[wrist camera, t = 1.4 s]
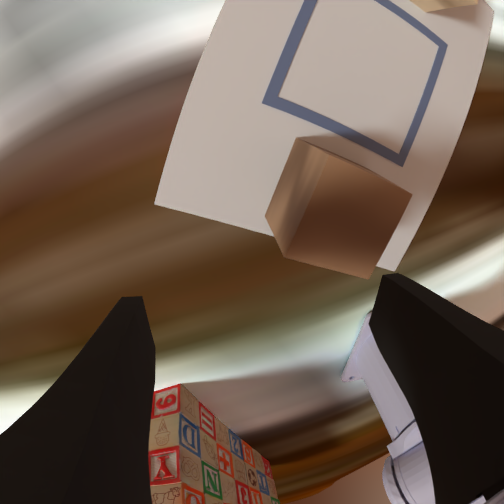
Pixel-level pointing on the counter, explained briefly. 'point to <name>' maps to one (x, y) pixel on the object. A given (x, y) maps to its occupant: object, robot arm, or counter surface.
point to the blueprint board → (324, 102)
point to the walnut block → (333, 211)
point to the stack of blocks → (201, 456)
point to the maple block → (441, 4)
